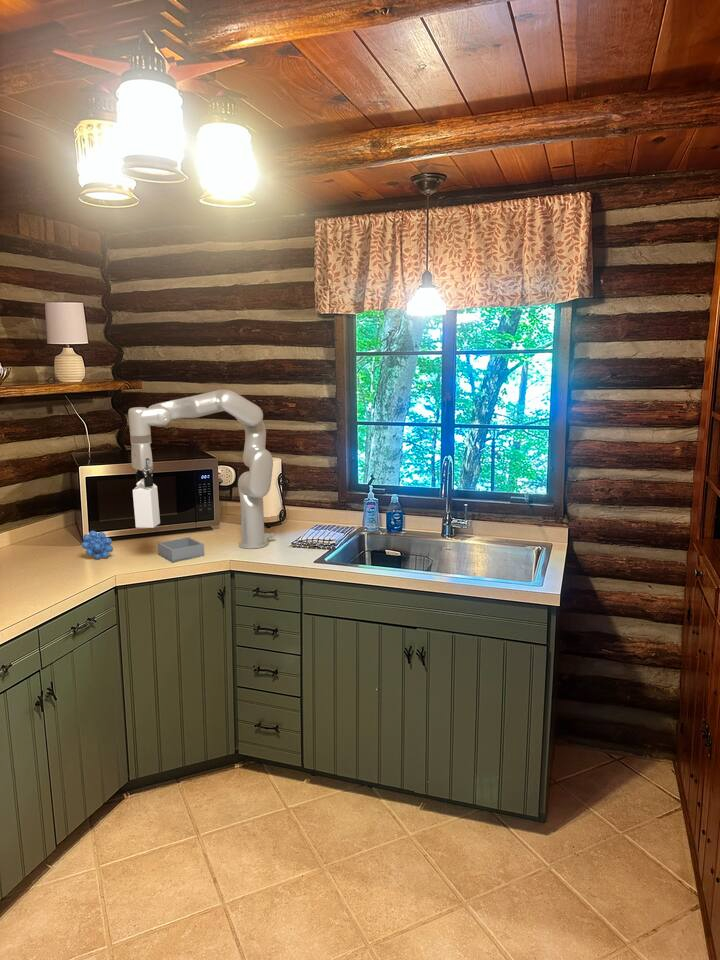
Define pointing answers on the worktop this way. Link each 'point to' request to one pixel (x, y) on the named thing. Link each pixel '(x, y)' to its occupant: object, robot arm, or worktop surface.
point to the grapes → (97, 544)
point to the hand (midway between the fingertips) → (144, 484)
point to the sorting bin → (181, 549)
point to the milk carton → (146, 505)
